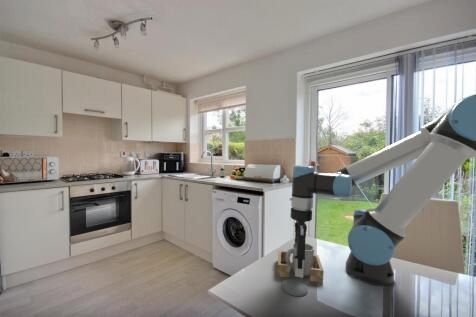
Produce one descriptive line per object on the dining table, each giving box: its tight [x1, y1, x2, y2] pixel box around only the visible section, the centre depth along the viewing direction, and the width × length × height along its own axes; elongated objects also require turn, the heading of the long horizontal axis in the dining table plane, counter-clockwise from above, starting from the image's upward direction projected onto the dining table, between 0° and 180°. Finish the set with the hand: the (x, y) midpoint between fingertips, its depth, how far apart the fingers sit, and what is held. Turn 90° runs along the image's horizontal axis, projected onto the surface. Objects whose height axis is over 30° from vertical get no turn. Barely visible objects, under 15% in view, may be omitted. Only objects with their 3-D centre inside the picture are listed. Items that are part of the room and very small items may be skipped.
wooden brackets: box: [276, 250, 325, 284], centre depth 83 cm, size 15×12×4 cm
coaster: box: [281, 279, 309, 297], centre depth 72 cm, size 8×8×1 cm
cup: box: [285, 242, 315, 277], centre depth 83 cm, size 7×10×9 cm
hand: (298, 269), depth 83 cm, fingers open, 9 cm apart
